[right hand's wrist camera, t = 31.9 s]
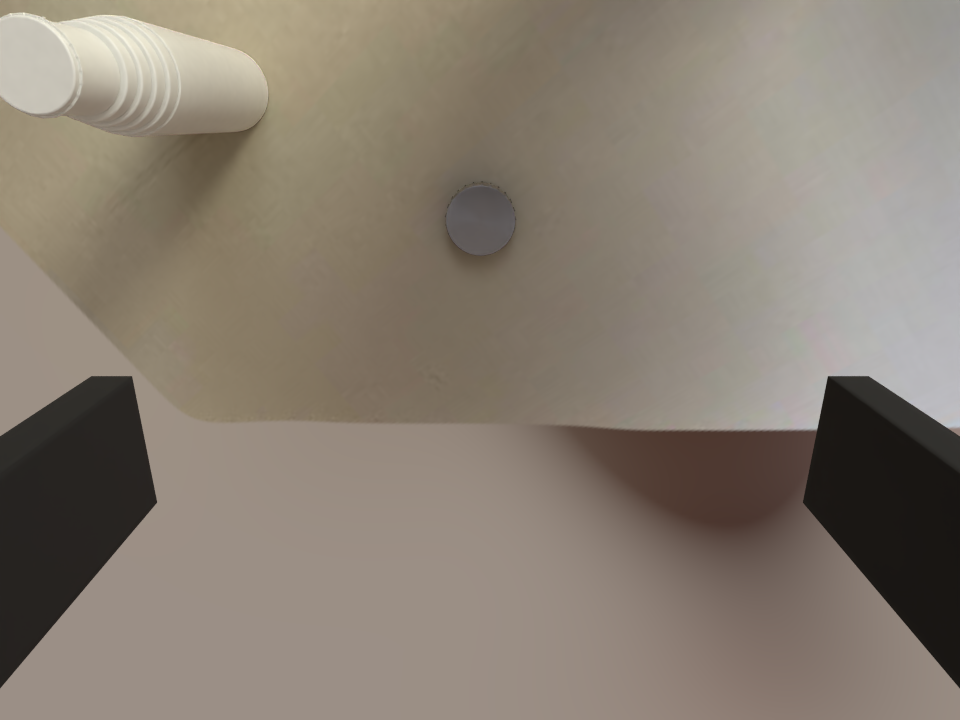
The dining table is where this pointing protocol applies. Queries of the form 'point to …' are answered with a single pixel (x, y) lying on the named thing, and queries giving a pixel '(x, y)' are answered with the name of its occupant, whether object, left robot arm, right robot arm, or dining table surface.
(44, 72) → the bottle
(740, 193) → the dining table surface
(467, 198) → the cap
